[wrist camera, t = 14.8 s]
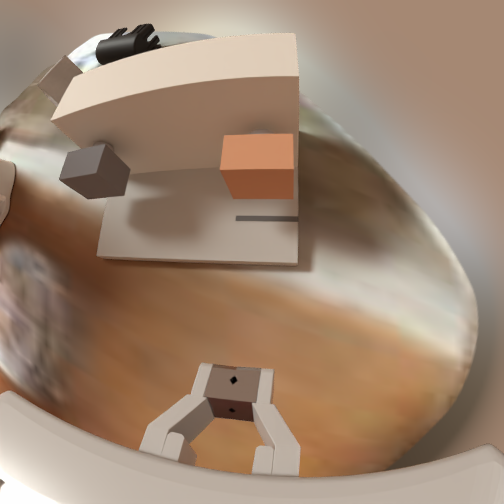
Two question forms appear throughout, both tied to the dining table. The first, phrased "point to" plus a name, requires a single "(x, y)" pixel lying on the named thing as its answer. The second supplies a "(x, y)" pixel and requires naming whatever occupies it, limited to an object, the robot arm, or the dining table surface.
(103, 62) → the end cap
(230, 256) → the plug console
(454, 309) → the dining table surface
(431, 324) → the dining table surface
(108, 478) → the robot arm
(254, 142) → the orange thick block
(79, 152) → the grey plug
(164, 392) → the dining table surface
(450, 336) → the dining table surface
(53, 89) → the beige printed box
